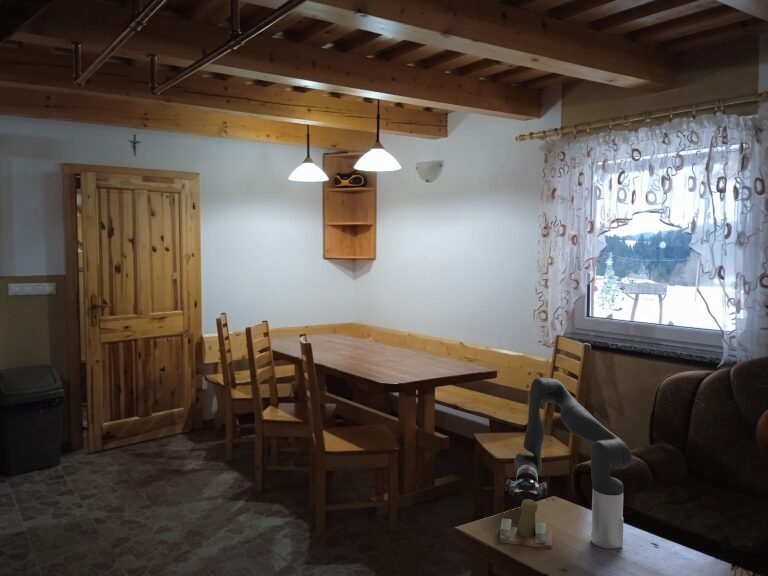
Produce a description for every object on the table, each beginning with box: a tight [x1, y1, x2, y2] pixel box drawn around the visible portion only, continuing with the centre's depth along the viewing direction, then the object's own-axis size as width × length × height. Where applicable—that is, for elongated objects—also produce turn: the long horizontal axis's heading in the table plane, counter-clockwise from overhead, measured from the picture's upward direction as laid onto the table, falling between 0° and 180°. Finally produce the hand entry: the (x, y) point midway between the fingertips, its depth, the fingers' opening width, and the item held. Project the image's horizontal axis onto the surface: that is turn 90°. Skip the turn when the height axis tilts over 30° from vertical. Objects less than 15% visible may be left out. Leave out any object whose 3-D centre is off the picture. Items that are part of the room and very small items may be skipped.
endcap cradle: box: [499, 517, 553, 549], centre depth 201 cm, size 16×10×4 cm, turn 75°
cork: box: [517, 498, 538, 538], centre depth 201 cm, size 6×6×11 cm
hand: (525, 494), depth 211 cm, fingers open, 8 cm apart
